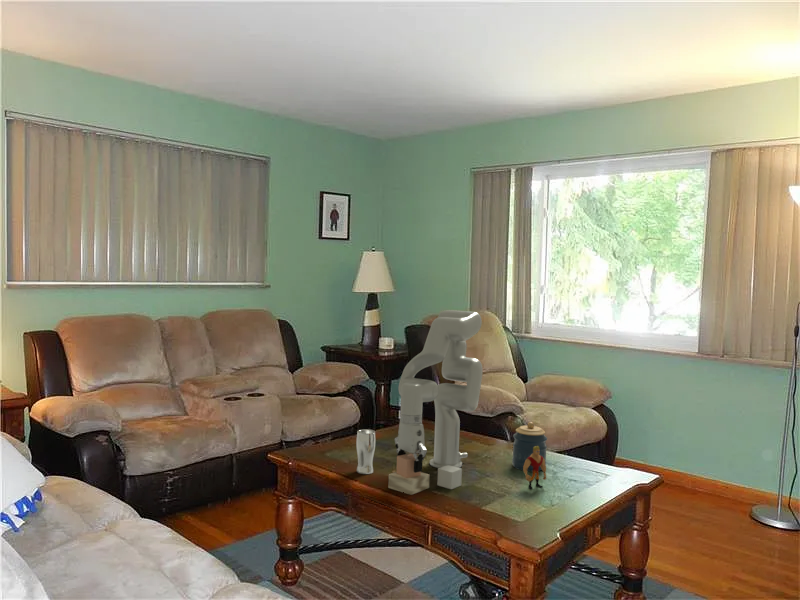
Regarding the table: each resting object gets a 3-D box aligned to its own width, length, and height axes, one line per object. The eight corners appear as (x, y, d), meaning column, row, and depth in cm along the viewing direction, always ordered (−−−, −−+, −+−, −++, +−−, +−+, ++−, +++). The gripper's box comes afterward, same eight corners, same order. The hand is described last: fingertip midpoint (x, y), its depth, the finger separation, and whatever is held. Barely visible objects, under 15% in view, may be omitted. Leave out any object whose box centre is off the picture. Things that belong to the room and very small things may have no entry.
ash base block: (406, 481, 227) (406, 467, 227) (429, 488, 221) (429, 474, 221) (388, 488, 219) (388, 474, 219) (411, 496, 213) (411, 481, 213)
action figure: (526, 490, 221) (528, 447, 220) (520, 487, 224) (522, 445, 224) (549, 487, 225) (551, 445, 224) (542, 484, 228) (544, 443, 228)
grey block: (447, 481, 228) (447, 464, 228) (461, 485, 224) (461, 468, 224) (437, 485, 224) (438, 468, 223) (451, 489, 220) (452, 472, 220)
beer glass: (371, 475, 232) (373, 434, 231) (353, 473, 233) (354, 433, 232) (376, 469, 238) (377, 430, 238) (358, 468, 240) (359, 428, 239)
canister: (526, 473, 240) (528, 427, 239) (505, 464, 251) (507, 419, 250) (553, 469, 246) (555, 424, 245) (531, 460, 257) (532, 417, 257)
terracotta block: (410, 470, 224) (411, 453, 224) (420, 475, 219) (421, 458, 219) (396, 473, 221) (397, 455, 220) (406, 478, 216) (407, 460, 216)
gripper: (435, 422, 214) (433, 473, 215) (405, 412, 228) (403, 459, 229) (417, 425, 210) (415, 476, 211) (387, 414, 224) (386, 462, 225)
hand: (409, 467), depth 220 cm, fingers open, 9 cm apart
